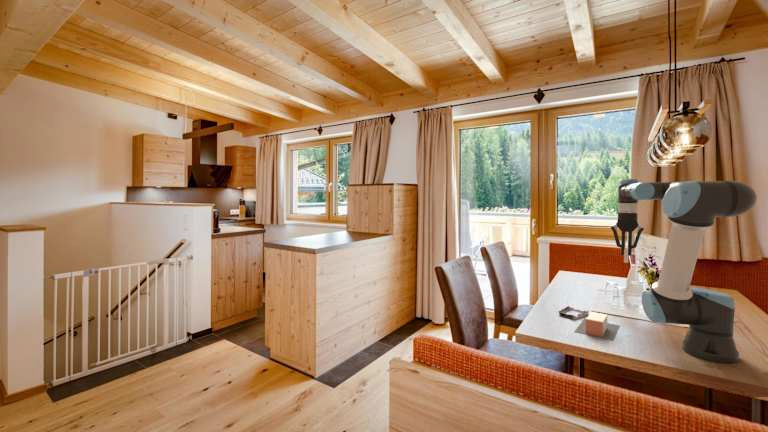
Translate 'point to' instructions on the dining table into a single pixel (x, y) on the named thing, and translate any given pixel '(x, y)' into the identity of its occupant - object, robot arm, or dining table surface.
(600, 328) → the off-white block
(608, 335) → the charcoal mat
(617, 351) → the dining table surface
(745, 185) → the robot arm
